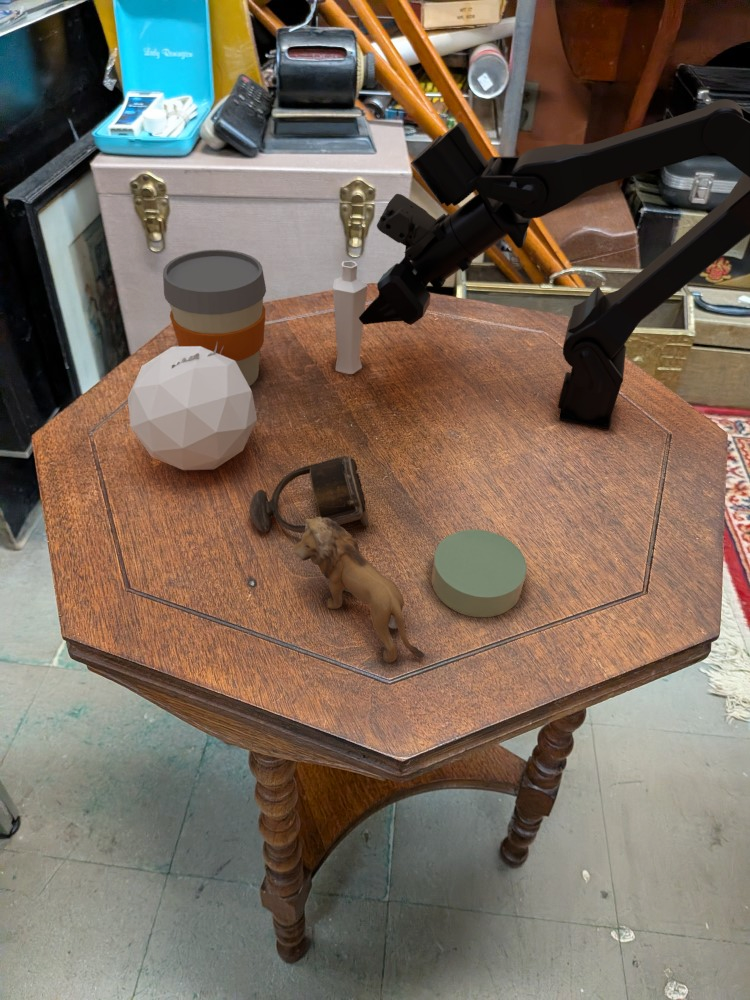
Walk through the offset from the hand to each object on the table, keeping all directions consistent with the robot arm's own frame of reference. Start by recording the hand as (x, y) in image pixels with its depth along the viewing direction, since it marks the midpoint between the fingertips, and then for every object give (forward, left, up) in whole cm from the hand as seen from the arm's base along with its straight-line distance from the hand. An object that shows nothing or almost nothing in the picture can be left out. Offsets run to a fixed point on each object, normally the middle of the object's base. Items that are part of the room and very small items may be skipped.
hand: (372, 305), depth 94 cm
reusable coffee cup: (+18, +8, -10) cm, 22 cm away
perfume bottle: (+3, 0, -10) cm, 11 cm away
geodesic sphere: (+13, +25, -10) cm, 30 cm away
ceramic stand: (-22, +34, -10) cm, 42 cm away
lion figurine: (-12, +42, -10) cm, 45 cm away
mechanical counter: (-3, +30, -10) cm, 32 cm away
